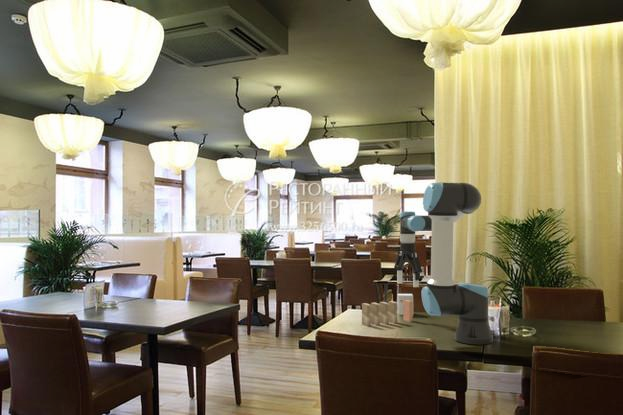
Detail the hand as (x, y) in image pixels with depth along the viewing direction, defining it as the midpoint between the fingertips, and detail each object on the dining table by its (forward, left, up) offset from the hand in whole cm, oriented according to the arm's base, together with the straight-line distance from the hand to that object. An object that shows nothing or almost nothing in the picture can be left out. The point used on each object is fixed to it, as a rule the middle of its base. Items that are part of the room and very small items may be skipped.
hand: (407, 285), depth 251 cm
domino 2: (0, +19, -18) cm, 26 cm away
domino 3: (0, +14, -18) cm, 22 cm away
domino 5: (0, 0, -18) cm, 18 cm away
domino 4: (0, +9, -18) cm, 20 cm away
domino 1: (0, +24, -18) cm, 30 cm away
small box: (+15, -9, -18) cm, 25 cm away
